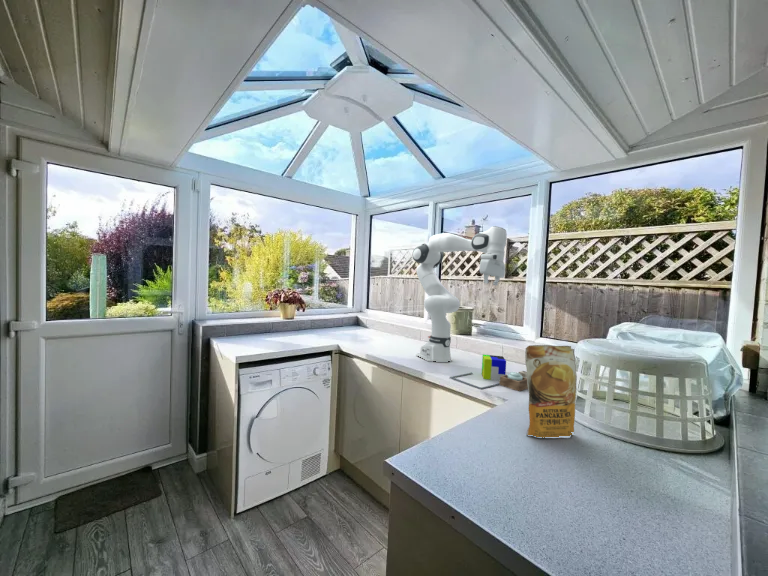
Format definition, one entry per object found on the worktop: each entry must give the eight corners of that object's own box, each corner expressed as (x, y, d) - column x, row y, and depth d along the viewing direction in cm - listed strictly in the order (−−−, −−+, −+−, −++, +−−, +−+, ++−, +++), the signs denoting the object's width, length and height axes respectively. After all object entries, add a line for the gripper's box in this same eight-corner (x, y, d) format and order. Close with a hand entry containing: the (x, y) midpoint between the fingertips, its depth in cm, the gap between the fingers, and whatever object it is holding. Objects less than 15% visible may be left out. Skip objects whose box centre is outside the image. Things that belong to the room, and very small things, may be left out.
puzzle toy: (505, 381, 156) (506, 360, 156) (483, 379, 158) (484, 358, 158) (501, 375, 166) (502, 356, 165) (481, 373, 168) (482, 354, 167)
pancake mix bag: (514, 429, 103) (519, 343, 103) (568, 428, 106) (573, 344, 105) (526, 440, 97) (532, 347, 96) (583, 438, 99) (589, 348, 99)
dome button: (504, 378, 149) (505, 372, 149) (512, 376, 153) (512, 370, 153) (517, 382, 144) (517, 376, 144) (525, 380, 148) (525, 374, 147)
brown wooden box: (499, 384, 150) (499, 372, 149) (518, 379, 159) (519, 368, 159) (518, 391, 142) (519, 378, 141) (538, 385, 151) (538, 373, 151)
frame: (449, 378, 156) (449, 376, 156) (471, 373, 166) (471, 372, 166) (481, 389, 141) (481, 388, 141) (503, 384, 151) (503, 382, 151)
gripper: (498, 260, 175) (494, 285, 175) (479, 254, 161) (475, 281, 161) (509, 261, 171) (505, 287, 171) (490, 254, 157) (486, 282, 157)
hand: (490, 284), depth 166 cm, fingers open, 8 cm apart
